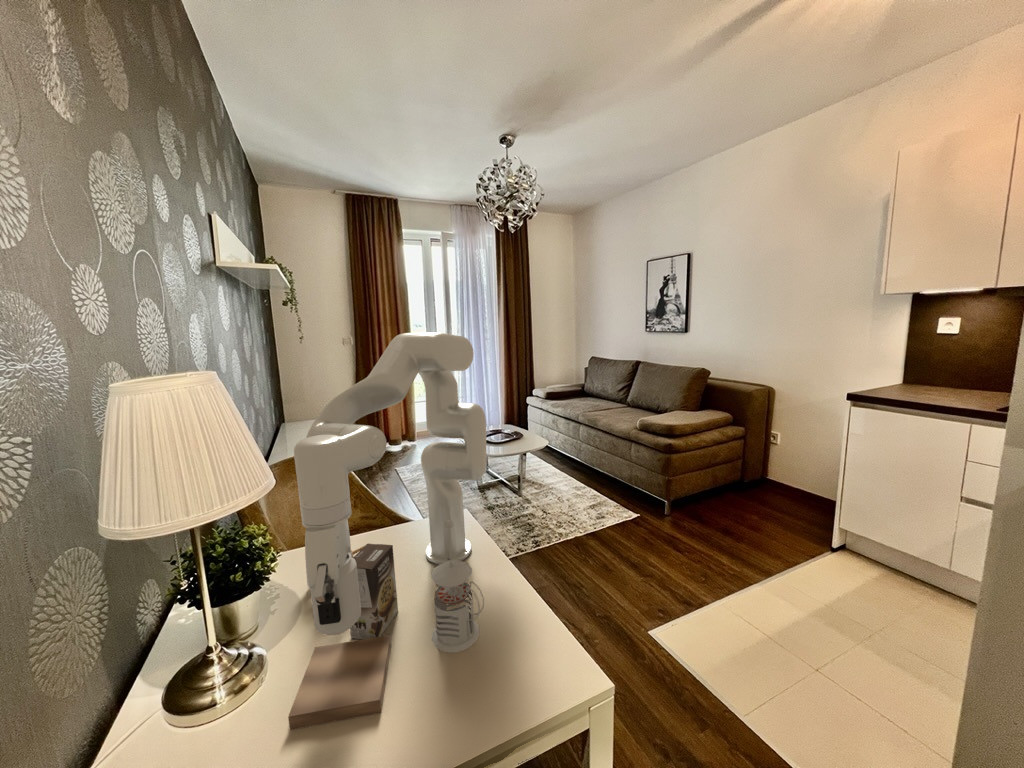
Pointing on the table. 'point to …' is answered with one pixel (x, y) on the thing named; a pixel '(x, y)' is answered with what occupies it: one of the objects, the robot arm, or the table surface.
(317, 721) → the riser
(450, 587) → the french press
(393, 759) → the table surface
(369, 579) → the coffee box
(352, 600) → the can
